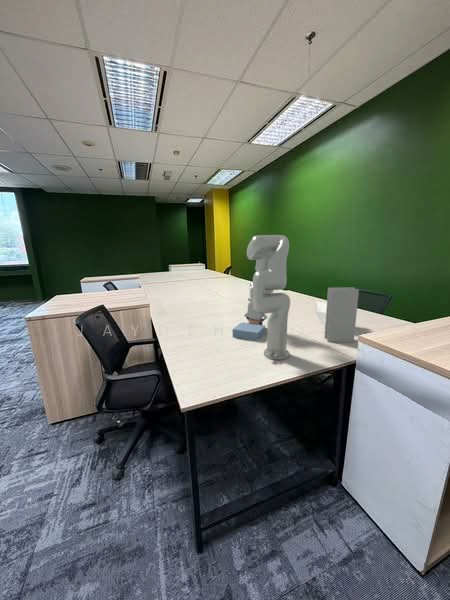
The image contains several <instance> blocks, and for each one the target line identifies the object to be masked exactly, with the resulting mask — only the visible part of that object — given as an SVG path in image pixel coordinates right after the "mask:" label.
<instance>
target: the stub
mask: <svg viewBox="0 0 450 600" xmlns="http://www.w3.org/2000/svg"><path fill="white" fill-rule="evenodd" d="M248 323H249V324H258V325H259V323H260V321H259V319H254V318H252V319H251V320H250V321H248Z"/></svg>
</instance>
